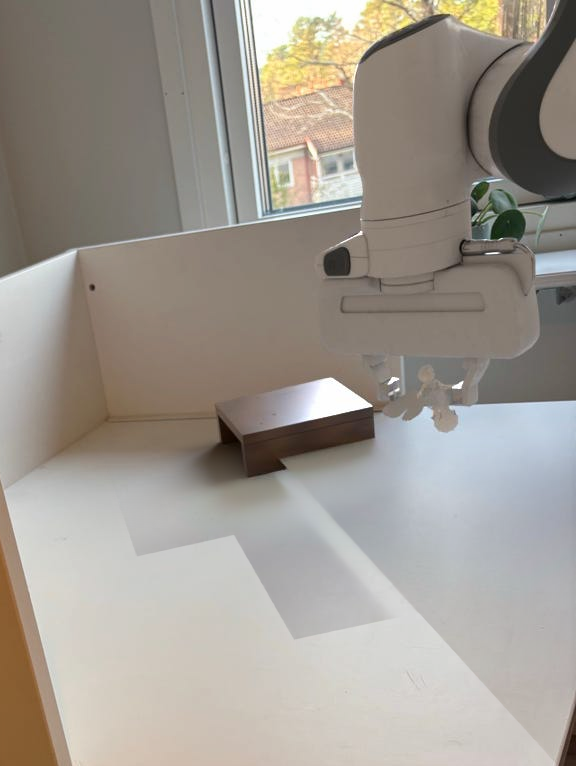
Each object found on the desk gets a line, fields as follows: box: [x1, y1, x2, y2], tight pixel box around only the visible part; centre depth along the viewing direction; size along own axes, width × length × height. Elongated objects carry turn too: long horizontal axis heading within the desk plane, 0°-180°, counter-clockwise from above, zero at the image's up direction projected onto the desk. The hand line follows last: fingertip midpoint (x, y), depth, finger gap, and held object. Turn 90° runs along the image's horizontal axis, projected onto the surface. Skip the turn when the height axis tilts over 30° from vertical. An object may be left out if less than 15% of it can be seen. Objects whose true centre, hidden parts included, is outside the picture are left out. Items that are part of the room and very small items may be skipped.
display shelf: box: [214, 376, 376, 478], centre depth 115 cm, size 15×15×5 cm
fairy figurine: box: [381, 364, 459, 434], centre depth 88 cm, size 6×7×7 cm
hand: (425, 401), depth 88 cm, fingers closed on fairy figurine, 6 cm apart
